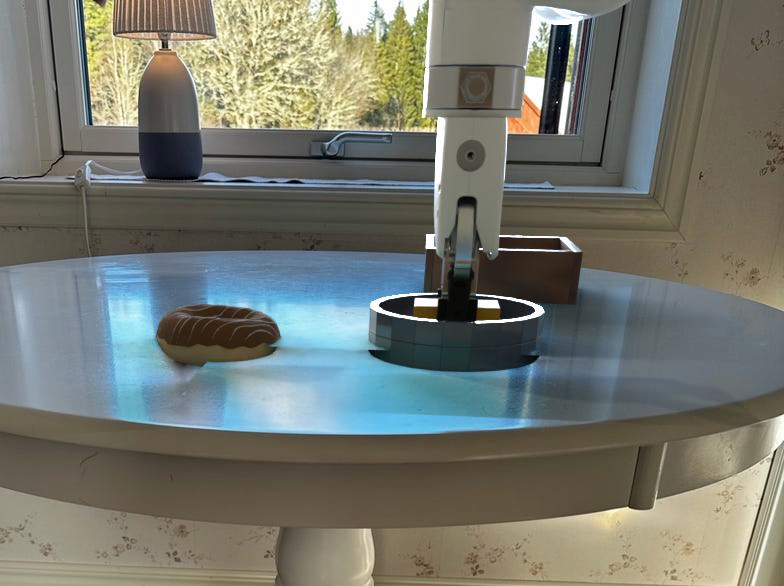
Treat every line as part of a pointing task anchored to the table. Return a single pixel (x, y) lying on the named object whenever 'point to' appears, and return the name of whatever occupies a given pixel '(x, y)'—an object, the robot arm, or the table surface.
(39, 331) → the table surface
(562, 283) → the box
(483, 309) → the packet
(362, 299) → the table surface
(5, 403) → the table surface
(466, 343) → the bowl
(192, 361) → the donut
